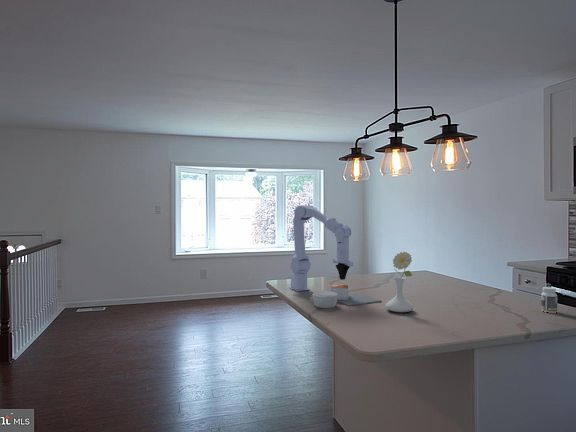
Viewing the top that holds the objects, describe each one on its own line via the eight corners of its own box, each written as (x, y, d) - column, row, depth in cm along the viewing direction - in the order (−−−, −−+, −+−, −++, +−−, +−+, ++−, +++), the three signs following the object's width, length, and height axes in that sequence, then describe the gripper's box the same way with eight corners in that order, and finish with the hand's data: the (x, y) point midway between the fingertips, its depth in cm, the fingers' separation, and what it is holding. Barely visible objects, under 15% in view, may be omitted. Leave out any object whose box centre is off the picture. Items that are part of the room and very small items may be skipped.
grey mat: (326, 297, 192) (326, 296, 192) (358, 294, 200) (358, 293, 200) (348, 305, 176) (348, 304, 176) (381, 301, 184) (381, 300, 184)
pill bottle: (558, 311, 167) (559, 287, 167) (555, 314, 163) (555, 289, 163) (542, 309, 171) (543, 286, 171) (539, 311, 167) (539, 287, 167)
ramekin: (315, 309, 170) (315, 297, 170) (309, 303, 181) (309, 291, 181) (341, 308, 172) (341, 296, 172) (334, 302, 183) (334, 290, 183)
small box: (348, 284, 194) (348, 288, 184) (348, 295, 194) (348, 300, 184) (331, 283, 195) (330, 287, 185) (331, 295, 195) (330, 299, 185)
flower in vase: (379, 309, 171) (380, 249, 170) (401, 306, 175) (402, 249, 174) (399, 316, 159) (399, 253, 158) (422, 314, 163) (423, 252, 162)
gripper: (358, 252, 189) (358, 281, 189) (341, 249, 202) (341, 276, 202) (346, 253, 186) (345, 282, 186) (329, 250, 199) (329, 277, 199)
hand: (342, 279), depth 194 cm, fingers closed
